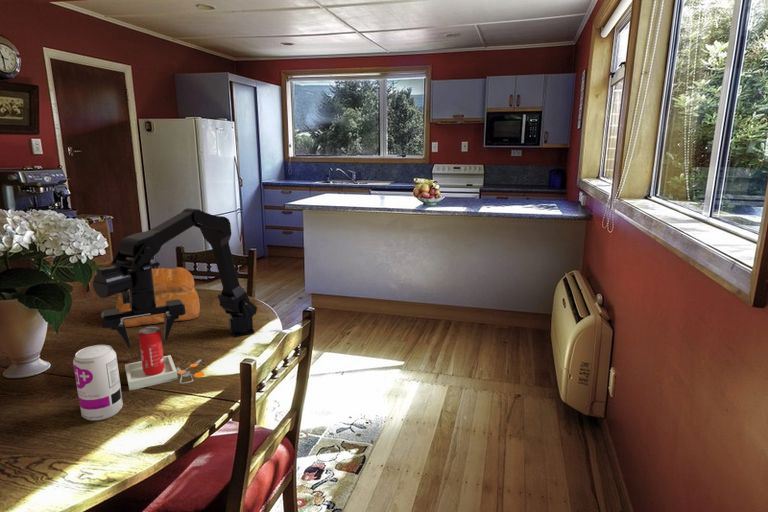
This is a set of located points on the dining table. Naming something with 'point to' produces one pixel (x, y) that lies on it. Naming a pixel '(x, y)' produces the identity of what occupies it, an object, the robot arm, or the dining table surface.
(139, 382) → the tray
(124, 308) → the bread
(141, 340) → the beverage can
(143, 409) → the dining table surface
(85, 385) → the supplement can
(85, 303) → the dining table surface
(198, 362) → the key chain
